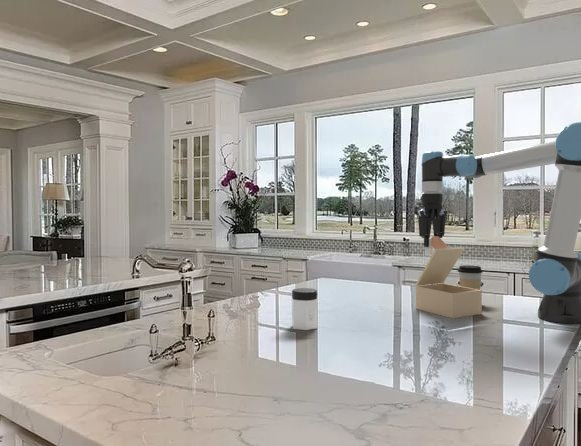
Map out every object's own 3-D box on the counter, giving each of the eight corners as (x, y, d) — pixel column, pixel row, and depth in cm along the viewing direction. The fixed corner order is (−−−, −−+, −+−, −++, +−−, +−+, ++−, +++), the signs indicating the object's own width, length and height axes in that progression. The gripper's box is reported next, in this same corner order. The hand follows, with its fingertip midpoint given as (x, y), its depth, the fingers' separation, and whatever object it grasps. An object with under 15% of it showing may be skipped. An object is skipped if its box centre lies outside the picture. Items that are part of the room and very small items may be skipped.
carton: (481, 315, 174) (481, 290, 173) (452, 319, 167) (452, 293, 167) (443, 306, 190) (443, 283, 189) (416, 310, 183) (416, 286, 183)
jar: (300, 331, 152) (300, 293, 152) (286, 326, 159) (286, 289, 159) (323, 327, 157) (323, 290, 157) (308, 322, 164) (308, 287, 164)
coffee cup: (486, 306, 189) (486, 268, 188) (461, 306, 189) (461, 268, 188) (477, 302, 198) (477, 265, 198) (453, 302, 198) (454, 265, 198)
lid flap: (464, 248, 180) (449, 233, 186) (437, 250, 173) (422, 234, 179) (443, 282, 189) (430, 267, 195) (416, 285, 183) (403, 269, 189)
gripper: (440, 193, 191) (440, 253, 192) (408, 193, 184) (408, 255, 184) (455, 193, 185) (454, 255, 185) (423, 192, 177) (422, 257, 178)
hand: (431, 255), depth 185 cm, fingers closed on lid flap, 3 cm apart
